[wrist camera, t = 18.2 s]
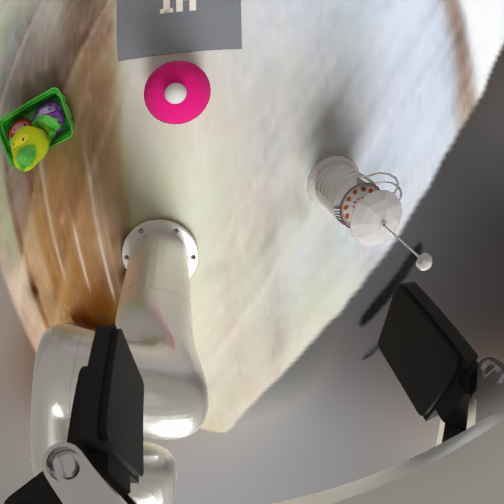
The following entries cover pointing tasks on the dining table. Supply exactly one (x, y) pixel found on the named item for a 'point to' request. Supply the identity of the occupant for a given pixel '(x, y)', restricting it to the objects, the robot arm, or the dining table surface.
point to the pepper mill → (177, 92)
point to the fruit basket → (36, 129)
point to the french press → (358, 203)
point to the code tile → (176, 26)
